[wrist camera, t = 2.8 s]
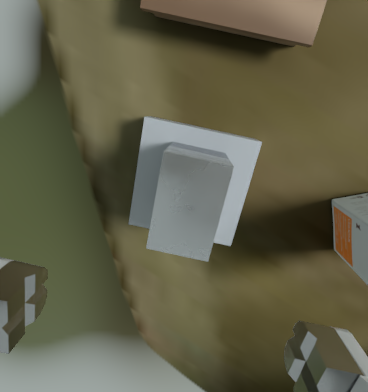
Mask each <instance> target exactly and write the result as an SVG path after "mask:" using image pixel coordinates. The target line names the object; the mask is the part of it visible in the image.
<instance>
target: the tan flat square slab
mask: <svg viewBox="0 0 368 392" xmlns="http://www.w3.org/2000/svg"><path fill="white" fill-rule="evenodd" d="M326 2H327V0H141V4H140V8H141V10H142V11H145V12H150V13H154V16H156V17H160V18H165V19H169V20H174V21H179V22H183V23H188V24H192V25H197V26H201V27H206V28H211V29H215V30H220V31H224V32H229V33H233V34H238V35H243V36H247V37H252V38H256V39H261V40H265V41H270V42H275V43H279V44H284V45H288V46H293V47H294V46H295V45H300V46H305V47H310V46H312V45H313V42H314V39H315V36H316V33H317V29H318V26H319V23H320V20H321V17H322V14H323V11H324V8H325V5H326Z"/></svg>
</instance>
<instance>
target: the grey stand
mask: <svg viewBox="0 0 368 392" xmlns="http://www.w3.org/2000/svg"><path fill="white" fill-rule="evenodd" d="M173 142H178V143H182V144H187V145H191V146H196V147H201V148H205V149H210V150H214V151H219V152H224V153H226V155H227V156H228V158H229V160H230V161H231V163H232V164H233V166H234V169H233V173H232V176H231V180H230V184H229V187H228V191H227V194H226V198H225V202H224V205H223V209H222V213H221V216H220V220H219V224H218V227H217V231H216V235H215V238H214V243H218V244H223V245H228V246H231V244H232V241H233V237H234V234H235V231H236V227H237V224H238V221H239V217H240V214H241V211H242V207H243V204H244V201H245V197H246V194H247V191H248V187H249V184H250V181H251V177H252V174H253V171H254V167H255V164H256V161H257V157H258V154H259V151H260V147H261V144H262V142H261V141H258V140H256V139H253V138H249V137H244V136H240V135H235V134H230V133H226V132H221V131H217V130H212V129H207V128H203V127H198V126H194V125H189V124H184V123H180V122H175V121H171V120H166V119H161V118H157V117H152V116H146V117H144V123H143V130H142V136H141V143H140V150H139V157H138V163H137V170H136V177H135V184H134V190H133V197H132V204H131V211H130V217H129V224H130V225H135V226H140V227H144V228H149V229H150V224H151V219H152V213H153V207H154V202H155V196H156V191H157V185H158V179H159V174H160V168H161V163H162V157H163V152H164V151H165V150H166V149H167V148H168V147H169V146H170V145H171V144H172V143H173Z"/></svg>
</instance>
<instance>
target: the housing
mask: <svg viewBox="0 0 368 392" xmlns="http://www.w3.org/2000/svg"><path fill="white" fill-rule="evenodd" d="M233 169H234V166H233V164H232V163H231V161H230V160H229V158H228V156H227V155H226V153H224V152H219V151H214V150H210V149H205V148H201V147H196V146H191V145H187V144H182V143H178V142H173V143H172V144H171V145H170V146H169V147H168V148H167V149H166V150H165V151H164V152H163V157H162V163H161V168H160V174H159V179H158V185H157V191H156V196H155V202H154V207H153V213H152V219H151V224H150V230H149V235H148V241H147V246H146V248H147V249H151V250H156V251H161V252H165V253H170V254H174V255H179V256H184V257H188V258H193V259H198V260H202V261H207V262H208V260H209V256H210V253H211V249H212V246H213V242H214V238H215V235H216V231H217V227H218V224H219V220H220V216H221V213H222V209H223V205H224V202H225V198H226V194H227V191H228V187H229V184H230V180H231V176H232V173H233Z"/></svg>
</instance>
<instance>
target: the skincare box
mask: <svg viewBox="0 0 368 392" xmlns="http://www.w3.org/2000/svg"><path fill="white" fill-rule="evenodd" d="M332 214H333V239H334V250H335V251H336V252H337V253H338V255H339V256H340V257H341V258H342V259H343V260H344V261H345V262H346V263H347V264H348V265H349V266H350V267H351V268H352V269H353V270H354V271H355V272H356V273H357V274H358V276H359V277H360V278H361V279H362V280H363V281H364V282H365V283H366V284H367V285H368V193H365V194H359V195H354V196H348V197H342V198H336V199H332Z"/></svg>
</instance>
